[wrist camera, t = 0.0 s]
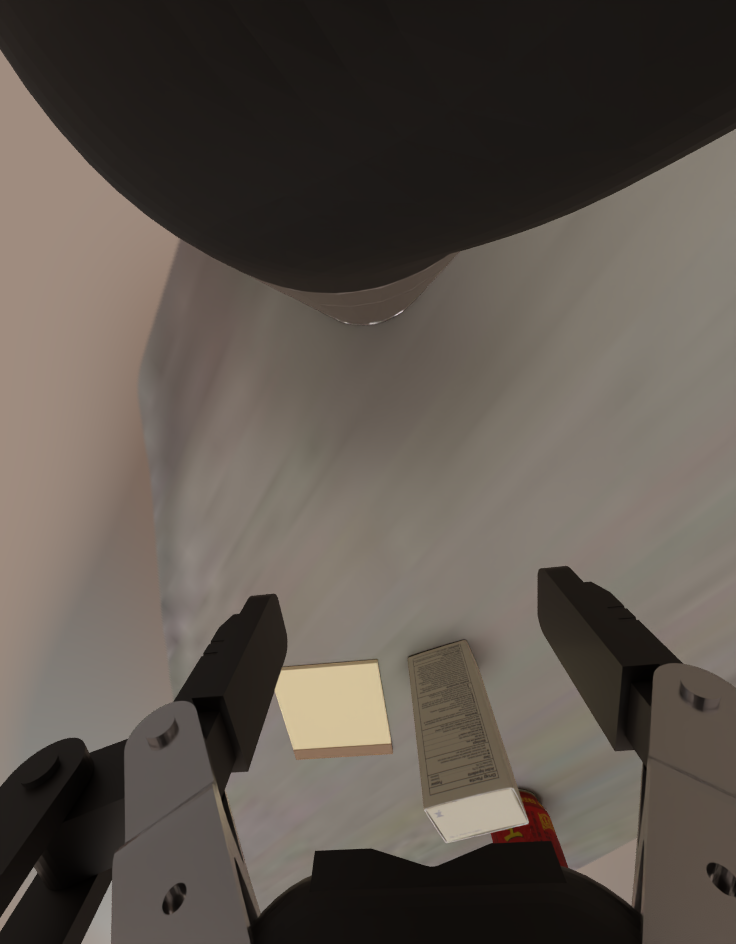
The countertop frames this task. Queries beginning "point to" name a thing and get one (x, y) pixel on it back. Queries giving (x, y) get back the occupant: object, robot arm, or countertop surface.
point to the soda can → (532, 827)
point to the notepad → (334, 709)
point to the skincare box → (460, 747)
